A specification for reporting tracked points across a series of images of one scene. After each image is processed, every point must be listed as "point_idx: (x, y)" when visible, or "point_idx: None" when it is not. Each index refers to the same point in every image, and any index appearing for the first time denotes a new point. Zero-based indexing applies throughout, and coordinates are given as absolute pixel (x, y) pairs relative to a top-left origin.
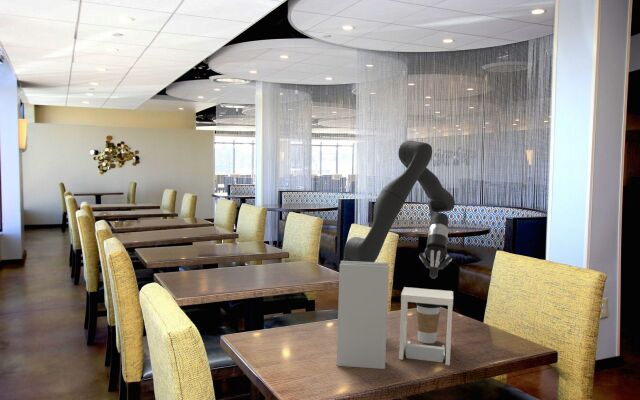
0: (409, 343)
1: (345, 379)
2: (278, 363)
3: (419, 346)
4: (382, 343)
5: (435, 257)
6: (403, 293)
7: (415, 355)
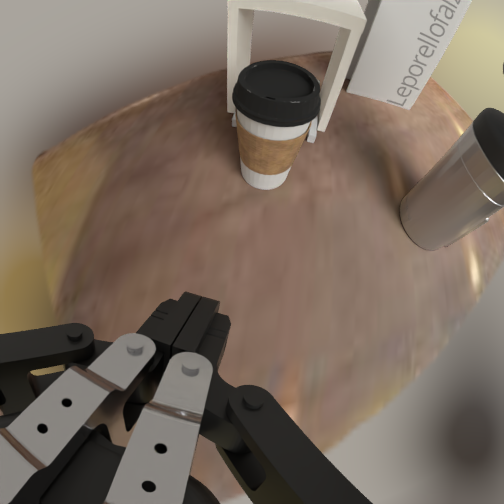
0: None
1: None
2: (454, 113)
3: None
4: (357, 49)
5: (96, 461)
6: (355, 1)
7: None
